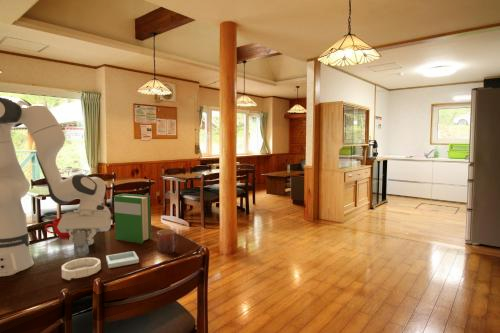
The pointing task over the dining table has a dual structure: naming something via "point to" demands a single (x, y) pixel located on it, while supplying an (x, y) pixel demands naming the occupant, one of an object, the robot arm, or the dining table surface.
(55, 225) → the ceramic cup
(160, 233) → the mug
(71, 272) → the bowl
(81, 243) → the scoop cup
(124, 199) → the hardback book
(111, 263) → the parts tray
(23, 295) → the dining table surface
